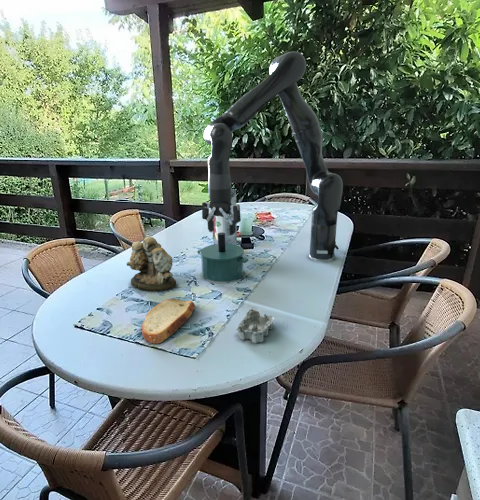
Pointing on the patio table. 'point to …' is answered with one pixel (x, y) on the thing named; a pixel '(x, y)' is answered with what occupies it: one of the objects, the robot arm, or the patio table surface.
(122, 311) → the patio table surface
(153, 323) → the bread slice
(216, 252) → the lid
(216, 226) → the juice carton
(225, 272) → the pot
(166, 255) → the owl figurine
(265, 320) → the egg carton
